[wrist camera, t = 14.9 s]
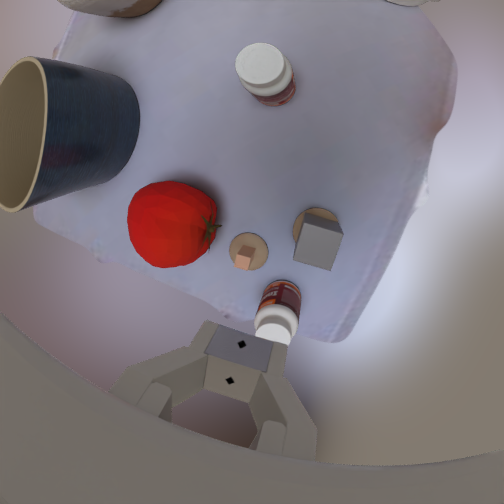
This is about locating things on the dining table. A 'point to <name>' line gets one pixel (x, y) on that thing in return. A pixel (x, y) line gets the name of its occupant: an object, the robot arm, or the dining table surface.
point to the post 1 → (248, 251)
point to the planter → (61, 130)
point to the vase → (112, 7)
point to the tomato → (171, 223)
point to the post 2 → (313, 211)
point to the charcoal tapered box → (318, 241)
